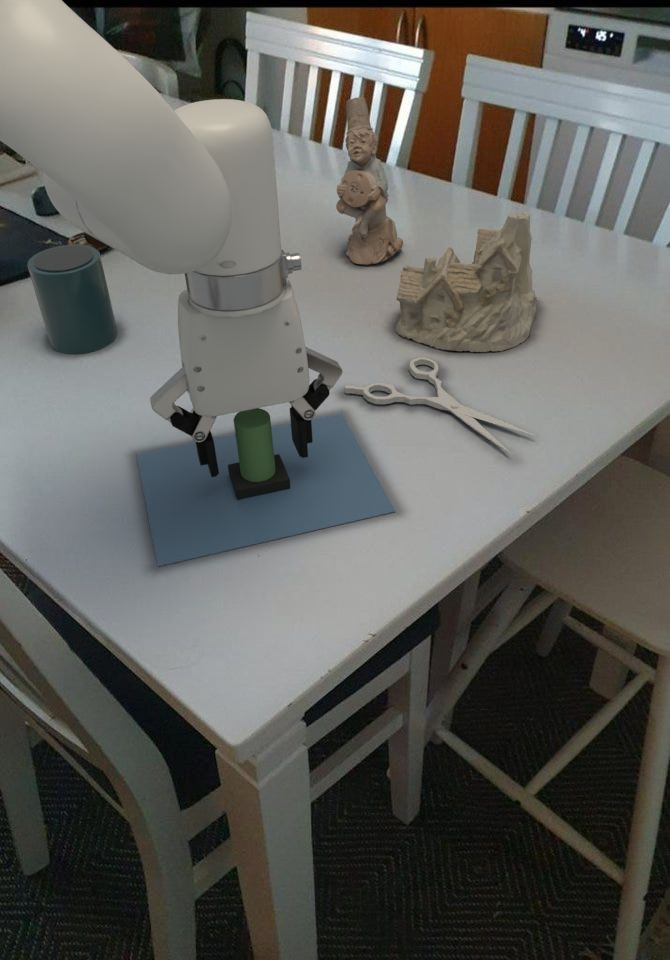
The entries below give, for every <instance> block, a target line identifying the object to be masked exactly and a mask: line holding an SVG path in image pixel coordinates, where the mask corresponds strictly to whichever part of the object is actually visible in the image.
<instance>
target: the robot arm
mask: <svg viewBox="0 0 670 960" xmlns="http://www.w3.org/2000/svg"><path fill="white" fill-rule="evenodd" d="M273 137H274V136H273V129H272V124H271V122H270V119H269V117H268V115H267V113H266V112H265V111H264V110H263V109H262V108H261V107H260V106H258V105H256V104H255V103H252V102H249V101H245V100H240V99H231V98H217V99H206V100H199V101H195V102H191V103H188V104H185V105H182V106H180V107H178V108H176V109H173V108H172V107H171V105H170V104H169V103H168V102H167V101H166V100H165V98H163V96H162V95H161V94H160V92H159V91H157V89H156V88H155V87H154V86H153V85H152V84H151V83H150V82H149V80H147V79H146V78H145V76H144V75H142V74H141V73H140V72H139V70H137V68H135V67H134V66H133V65H132V64H131V63H130V62H129V61H128V60H127V59H126V58H125V57H124V56H123V55H122V54H121V53H120V52H119V51H118V50H117V49H116V48H115V47H114V46H112V44H110V43H109V42H108V41H107V40H106V39H104V37H103V36H102V35H100V34H99V33H98V32H97V31H96V30H95V29H94V28H92V27H91V26H90V25H89V24H88V23H87V22H86V21H84V20H83V19H82V17H80V16H79V15H78V14H77V13H75V11H74V10H72V9H71V8H70V6H68V5H67V4H66V3H65V2H64V1H63V0H0V142H1V143H3V144H4V145H6V146H7V147H9V149H11V150H13V151H14V152H15V153H17V154H18V155H19V156H21V157H22V158H23V159H25V160H26V161H27V162H29V163H30V165H32V166H34V167H35V168H36V169H37V170H39V171H40V172H41V173H42V174H43V175H42V176H43V177H42V178H43V183H44V188H45V192H46V195H47V196H48V198H49V201H50V202H51V204H52V206H53V207H54V208H55V210H56V211H57V212H58V213H59V215H60V216H62V217H63V218H64V219H65V220H66V221H67V222H69V223H70V224H71V225H72V226H73V227H75V228H77V229H78V230H80V231H81V232H85V233H87V234H89V235H90V236H92V237H94V238H96V239H97V240H99V241H101V242H103V243H104V244H106V245H109V246H108V247H110V248H112V249H114V250H116V251H117V252H119V253H120V254H122V255H124V256H126V257H128V258H129V259H131V260H132V261H134V262H136V263H137V264H139V265H140V266H142V267H144V268H146V269H148V270H150V271H153V272H156V273H160V274H166V275H183V274H184V278H185V285H186V289H184V290H183V291H182V292H181V293H180V294H179V295H178V301H177V329H178V341H179V351H180V361H181V368H180V369H179V370H178V371H177V372H176V373H174V375H172V376H171V377H170V378H169V379H168V380H167V381H166V382H165V383H164V384H163V385H162V386H161V387H160V388H158V389H157V390H156V391H155V392H154V393H153V394H152V395H151V396H150V398H149V402H150V408H151V410H152V411H153V412H154V413H156V414H157V415H158V416H160V417H161V418H163V419H164V420H165V421H167V422H169V423H170V424H171V426H172V427H173V428H175V429H177V430H179V431H180V432H183V433H184V434H187V435H188V436H189V437H192V440H193V441H194V443H196V448H197V453H198V458H199V462H200V465H201V466H202V465H207V464H208V467H209V471H210V474H211V477H216V476H217V475H218V474H219V470H218V464H217V458H216V452H215V445H214V440H213V439H214V437H213V434H212V427H213V426H214V423H215V421H216V419H217V417H219V416H224V415H231V414H235V413H238V412H241V411H246V410H251V409H256V408H260V409H262V408H266V407H271V406H276V405H280V404H285V403H288V404H290V407H289V418H290V424H291V432H292V440H293V443H294V445H295V447H296V450H297V452H298V454H299V456H300V457H302V458H305V457H308V447H307V443H312V442H313V439H312V423H311V420H312V419H315V418H316V415H317V413H316V412H317V410H318V409H319V408H320V407H321V405H322V404H323V403H324V402H325V401H326V399H328V397H329V396H330V391H331V389H333V388H334V387H335V385H336V384H337V382H338V381H339V379H340V378H341V377H342V375H343V368H342V367H341V366H340V364H339V362H338V361H337V360H335V359H332V358H330V357H329V356H326V355H324V354H322V353H320V352H317V351H315V350H313V349H311V348H309V347H308V346H306V342H305V335H304V329H303V324H302V319H301V315H300V310H299V306H298V303H297V302H298V301H297V299H296V295H295V292H294V289H293V287H292V284H291V281H290V280H289V275H290V274H291V275H292V274H293V272H298V271H302V267H303V266H302V259H301V256H300V253H299V252H295V253H290V252H285V251H284V249H283V248H282V239H281V226H280V214H279V213H280V212H279V201H278V188H277V187H278V185H277V174H276V161H275V148H274V138H273ZM309 369H310V370H312V371H314V372H316V373H318V375H317V378H315V379H314V380H312V381H311V383H310V370H309ZM186 392H187V393H188V395H189V396H188V397H189V399H190V402H191V404H192V408H191V411H188V410H187V409H185V408H183V407H182V406H179V405H176V403H175V402H176V401H177V400H179V399H180V398H181V397H182V396H183V395H184V394H185V393H186Z"/></svg>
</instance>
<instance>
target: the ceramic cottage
mask: <svg viewBox="0 0 670 960" xmlns="http://www.w3.org/2000/svg"><path fill="white" fill-rule="evenodd" d="M532 239H533V238H532V233H531V214H530V213H529V212H523V211H522V212H521V211H520V212H517V213H509V214H508V215H507V216H506V219H505V222H504V224H503V226H502V228H501V229H488V228H478V229H477V238H476V245H475V251H474V255H473V261H472V262H471V263H461V261H460V259H459V258H458V256H457V254H456V253H455V251H454V249H453V248H452V247H448V248H447V249H446V251H445V252H444V253H443V255H442V256H441V257H440V258H439V259H438V263H437V258H436V257H435V256H434V257H429V256H425V259H424V265H423V267H416V266H411V265H409V264H406V265H404V266H403V267H402V271H401V272H400V279H399V284H398V290H397V295H396V301H398V302H399V309H400V317H399V318H398V320H397V323H396V326H395V332H396V333H397V334H398V336H401V337H402V338H407V339H408V340H410V339H412V340H413V341H415V342H416V343H420V344H424V345H429V347H431V348H432V347H434V348H435V349H440V350H444V351H456V352H463V351H464V352H468V351H469V352H470V353H473V352H476V353H488V352H490V351H491V352H492V353H493V352H499V351H500V352H503V351H506V350H509V349H511V348H515V347H516V346H519V345H520V344H522V343H525V341H526V340H527V339H528V338H529V336H530V334H531V333H530V332H531V329H532V325H533V324H534V321H535V317H536V313H537V299H538V297H537V296H536V291H535V290H534V289H533V269H532V266H531V263H530V260H531V259H530V256H531V247H532Z"/></svg>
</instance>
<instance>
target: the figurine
mask: <svg viewBox="0 0 670 960" xmlns="http://www.w3.org/2000/svg"><path fill="white" fill-rule="evenodd" d="M345 110H346V126H347V129H346V130H347V131H346V133H345V135H346V137H345V148H346V150H347V155H348V157H349V160H348V162H347V166H346V169H345V171H344V173H343V176H342V177H341V179H340V180H341V181H340V183H339V184H337V186H336V193H337V195H338V198H339V199H338V200H337V201H336V205H335V207H336V208H335V209H336V211H337V212H338V213H339V214H341V215H346V216H349V217H350V218H354V219H355V223H354V224H353V227H351V234H349V236H348V237H347V241H346V244H347V246H348V248H347V250H346V252H345V255H346V256H347V257H348V258H349V260H350V261H351V262H352V263H353V264H355V265H372V264H374V265H375V264H378V263H383V262H384V261H386V260H388V259H390V258H391V257H393V256H394V255H395V254H396V253H397V252H399V251H402V249H403V246H404V240H403V239H402V238H400V237H398V232H397V227H396V223H395V221H394V220H393V219H392V218H390V217H389V216H387V208H386V205H387V203H388V201H389V196H390V195H389V194H388V189H389V183H388V178H387V175H386V172H385V169H384V167H383V164H382V160H381V159H379V158H377V156H376V153H377V150H378V142H379V138H378V135H377V133H375V131H374V129H373V127H372V124H371V121H370V120H371V119H370V115H369V109H368V104H367V100H366V98H365V97H359V96H358V97H353V98H350V99H347V101H346V104H345Z"/></svg>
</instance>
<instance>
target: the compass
mask: <svg viewBox="0 0 670 960" xmlns="http://www.w3.org/2000/svg"><path fill="white" fill-rule="evenodd" d="M65 245H86V246H90V247H93V248H95V249H97V250H98V251H99V253H100V252H103V251H104V250H106V249H107V248H108V247H110V246H109V245H106V244H104V243H103V242H101V241H99V240H97V239H96V238H94V237H92V236H90V235H89V234H87V233H85V232H83V231H81V232H79V233H76V234H73V235H72V236H71V237H70V238H69V239H68V240H67V241H66V243H65Z"/></svg>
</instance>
